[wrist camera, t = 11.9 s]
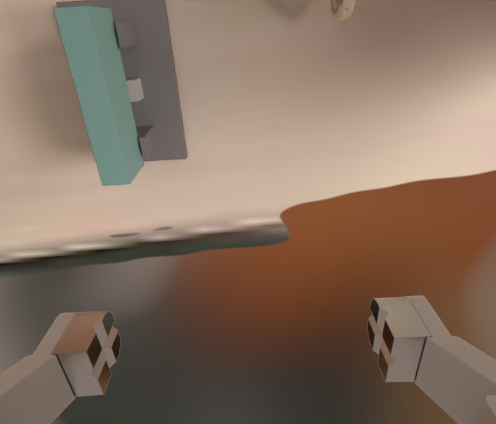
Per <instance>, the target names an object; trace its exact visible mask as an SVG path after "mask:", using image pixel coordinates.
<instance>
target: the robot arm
mask: <svg viewBox="0 0 496 424" xmlns="http://www.w3.org/2000/svg"><path fill="white" fill-rule="evenodd" d="M370 310H371V312H372V314H373V315H372V316H371V317H370V318H369V319H368V337H369V341H370V344H371V347H372V349H373V350H374V351H375V352H376V353H377V354H379V357H378V365H379V367H380V370H381V372H382V375H383V377H384V379H385V382H415V384H416V385H418V386H419V387H420V388H421V389H422V390H423V391H424V392H425V393H426V394H427V395H428V396H429V397H430V398H431V399H433V400H434V401H435V402H436V403H437V404H438V405H439V406H440V407H441V408H442V409H443V410H444V411H445V412H446V413H448V414H449V415H450V416H451V417H452V418H453V419H454V420H455V421H456V422H457V423H458V424H496V360H495V359H493V358H492V357H490V356H488V355H487V354H485V353H483V352H482V351H480V350H479V349H477V348H475V347H474V346H472V345H470V344H469V343H467V342H466V341H464V340H462V339H461V338H459V337H457V336H451V335H450V333H449V332H448V330H447V329H446V328H445V326H444V325H443V323H442V322H441V320H440V319H439V317H438V316H437V314H436V313H435V311H434V310H433V308H432V307H431V305H430V304H429V302H428V301H427V299H426V298H425V297H424V296H406V297H393V298H374V299H372V301H371V305H370ZM114 321H115V320H114V317H113V315H112V313H111V312H78V313H62V314H60V315H59V316H57V318H56V319H55V321H54V323H53V324H52V326H51V327H50V329H49V330H48V332H47V333H46V335H45V336H44V338H43V339H42V341H41V343H40V344H39V345H38V347H37V349H36V350H35V352H34V353H33V355H32V356H26V357H25V358H23V359H22V360H20V361H19V362H17V363H16V364H15V365H13V366H12V367H10V368H9V369H7V370H6V371H4V372H3V373H2V374H0V424H51V423H52V422H53V421H54V420H55V419H56V418H57V416H59V415H60V414H61V412H62V411H63V410H64V409H65V408H66V407H67V406H68V405H69V404H70V403H71V402H72V401H73V400H74V399H75V397H76V396H90V395H103V394H104V392H105V390H106V387H107V384H108V382H109V379H110V376H111V372H110V369H109V368H110V367H111V366H112V365H113V364H114V363H115V362H116V361H117V358H118V355H119V351H120V336H119V332H118V331H117V330H116V329H115V328H114V327H112V326H113V323H114Z"/></svg>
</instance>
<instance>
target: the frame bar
mask: <svg viewBox="0 0 496 424" xmlns="http://www.w3.org/2000/svg"><path fill="white" fill-rule="evenodd" d="M53 9H54V13H55V17H56V20H57V24H58V27H59V31H60V35H61V38H62V42H63V45H64V49H65V53H66V56H67V60H68V63H69V67H70V71H71V74H72V78H73V81H74V85H75V89H76V92H77V96H78V99H79V103H80V107H81V110H82V114H83V117H84V121H85V125H86V128H87V132H88V135H89V139H90V142H91V146H92V150H93V153H94V157H95V160H96V164H97V168H98V171H99V175H100V178H101V182H102V186H106V185H124V184H130V183H131V182H132V180H133V179H134V178H135V176H136V175H137V173H138V172H139V171H140V169H141V168H142V167H143V165H144V163H143V159H142V154H141V149H140V144H139V140H138V135H137V130H136V125H135V121H134V116H133V111H132V106H131V102H130V97H129V92H128V87H127V83H126V78H125V73H124V68H123V64H122V59H121V54H120V49H119V45H118V40H117V35H116V30H115V26H114V21H113V16H112V11H111V9H109V8H100V7H92V6H79V7H64V8H53Z"/></svg>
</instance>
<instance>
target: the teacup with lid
mask: <svg viewBox="0 0 496 424" xmlns="http://www.w3.org/2000/svg"><path fill="white" fill-rule="evenodd" d="M330 3H331V11H332V14H333V17H334V18H335V19H336V20H338V21H344V20H347V19H349V18H350V17H351V15H352V13H353V10H354V7H355V3H356V0H330Z"/></svg>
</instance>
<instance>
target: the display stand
mask: <svg viewBox="0 0 496 424" xmlns="http://www.w3.org/2000/svg"><path fill="white" fill-rule="evenodd" d="M56 3H57V7H58V8H64V7H79V6H92V7H100V8H109V9H111V11H112V16H113V21H114V26H115V30H116V35H117V40H118V45H119V49H120V54H121V59H122V64H123V68H124V73H125V78H126V83H127V87H128V92H129V97H130V102H131V106H132V111H133V116H134V121H135V125H136V130H137V135H138V140H139V144H140V149H141V154H142V159H143V161H157V160H174V159H186V158H187V149H186V142H185V135H184V128H183V121H182V114H181V107H180V100H179V94H178V87H177V80H176V73H175V66H174V59H173V52H172V45H171V39H170V32H169V25H168V18H167V11H166V4H165V0H86V1H71V2H56Z"/></svg>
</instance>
